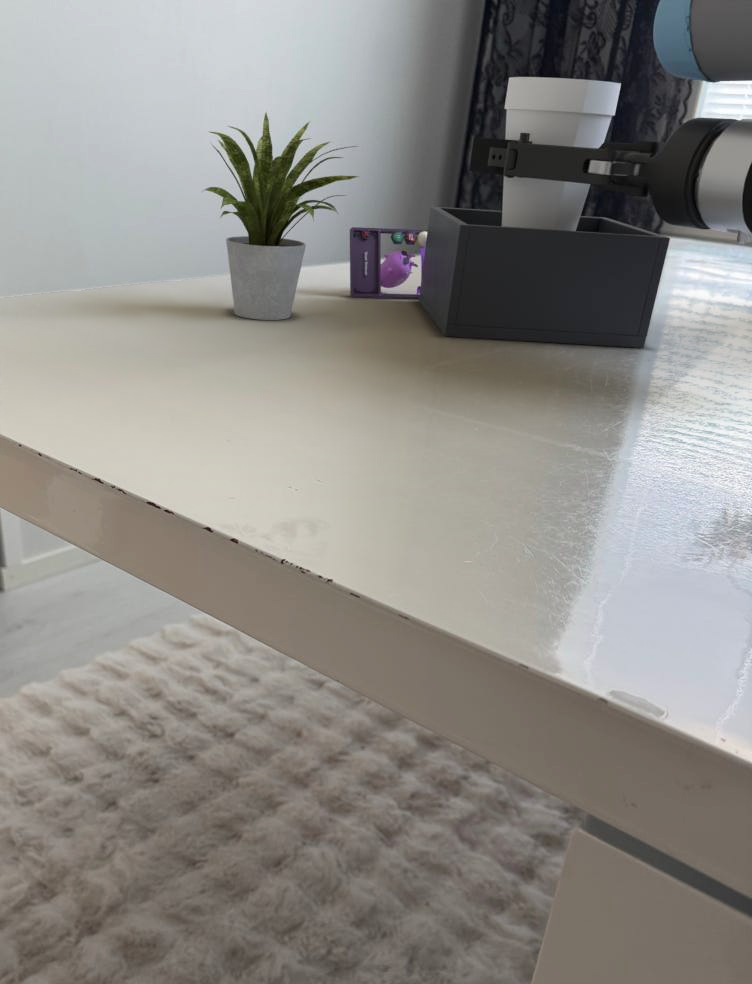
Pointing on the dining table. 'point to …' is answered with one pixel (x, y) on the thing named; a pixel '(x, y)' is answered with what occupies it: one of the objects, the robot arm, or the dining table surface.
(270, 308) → the house plant
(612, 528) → the dining table surface
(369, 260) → the purple cardboard box
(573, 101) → the white flower pot
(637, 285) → the dark grey open box
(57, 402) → the dining table surface
